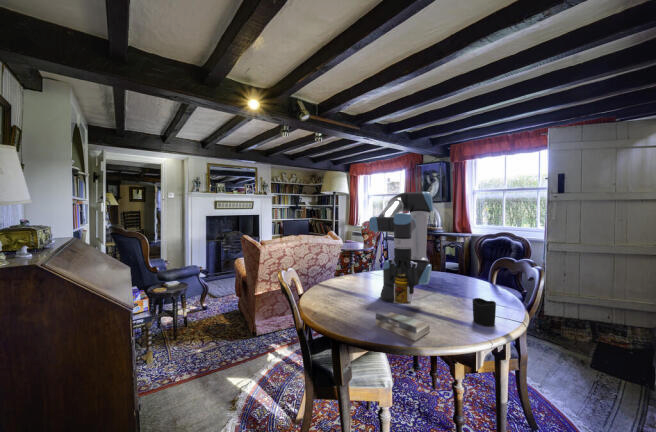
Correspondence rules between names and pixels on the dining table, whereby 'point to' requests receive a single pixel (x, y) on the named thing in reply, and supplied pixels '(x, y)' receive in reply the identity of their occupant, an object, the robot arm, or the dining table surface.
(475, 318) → the pen holder
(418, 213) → the robot arm
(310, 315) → the dining table surface
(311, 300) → the dining table surface
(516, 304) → the dining table surface
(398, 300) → the condiment
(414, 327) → the cream flat block
